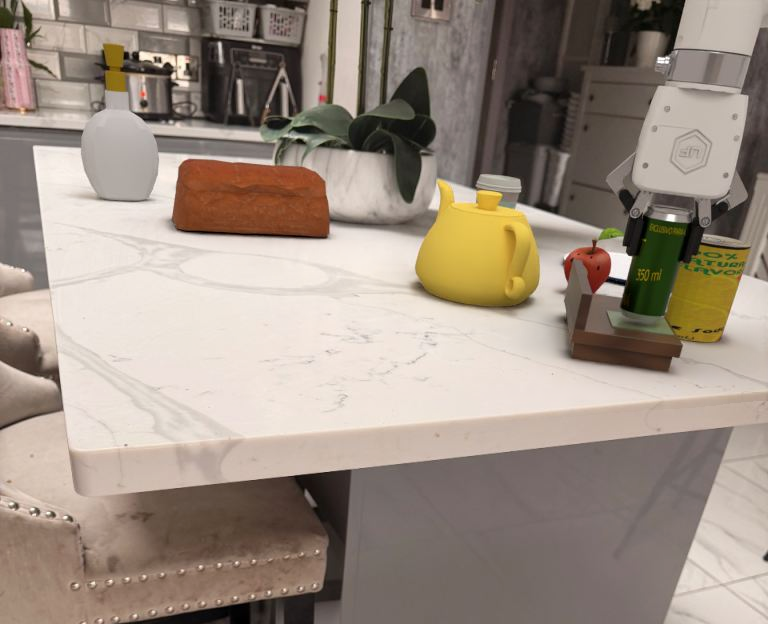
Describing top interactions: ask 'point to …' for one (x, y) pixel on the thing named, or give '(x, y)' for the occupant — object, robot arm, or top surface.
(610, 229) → the apple
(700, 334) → the beverage can
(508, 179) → the coffee cup
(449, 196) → the teapot
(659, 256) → the beer can
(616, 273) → the plate
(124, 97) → the white rounded bottle
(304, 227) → the bread
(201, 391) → the top surface
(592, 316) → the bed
